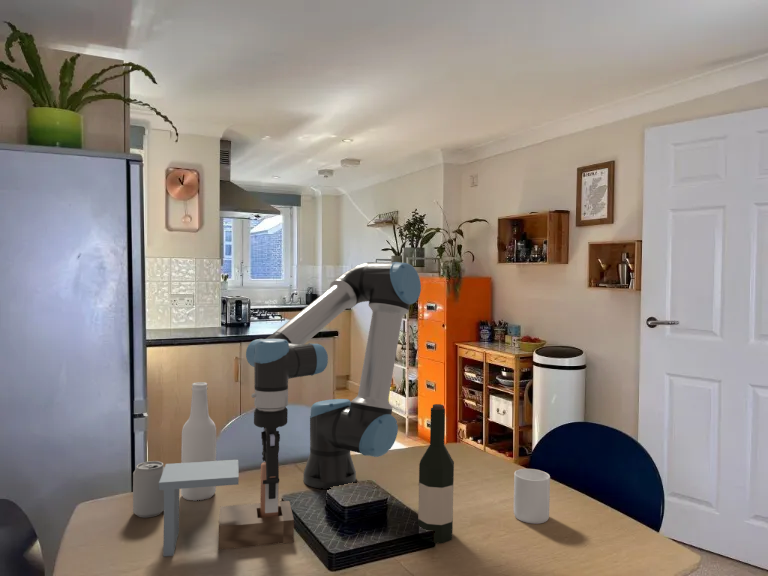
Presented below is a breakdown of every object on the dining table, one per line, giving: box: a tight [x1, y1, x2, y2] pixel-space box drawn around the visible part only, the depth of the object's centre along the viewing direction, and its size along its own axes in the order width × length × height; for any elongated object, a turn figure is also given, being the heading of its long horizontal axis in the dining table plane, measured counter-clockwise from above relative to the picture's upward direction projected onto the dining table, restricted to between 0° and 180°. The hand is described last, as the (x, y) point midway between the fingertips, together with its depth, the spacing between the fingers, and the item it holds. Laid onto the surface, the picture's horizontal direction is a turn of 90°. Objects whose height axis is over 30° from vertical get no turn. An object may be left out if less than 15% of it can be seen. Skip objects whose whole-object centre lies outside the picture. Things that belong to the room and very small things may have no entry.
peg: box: [260, 461, 280, 518], centre depth 130 cm, size 4×4×16 cm
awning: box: [159, 459, 240, 557], centre depth 126 cm, size 16×12×16 cm
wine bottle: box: [417, 403, 455, 544], centre depth 130 cm, size 8×8×30 cm
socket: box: [217, 500, 295, 551], centre depth 129 cm, size 16×11×5 cm
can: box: [132, 460, 165, 519], centre depth 140 cm, size 8×8×12 cm
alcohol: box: [180, 381, 217, 502], centre depth 151 cm, size 9×9×30 cm
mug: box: [513, 468, 551, 525], centre depth 143 cm, size 9×12×11 cm
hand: (269, 500), depth 130 cm, fingers open, 13 cm apart
